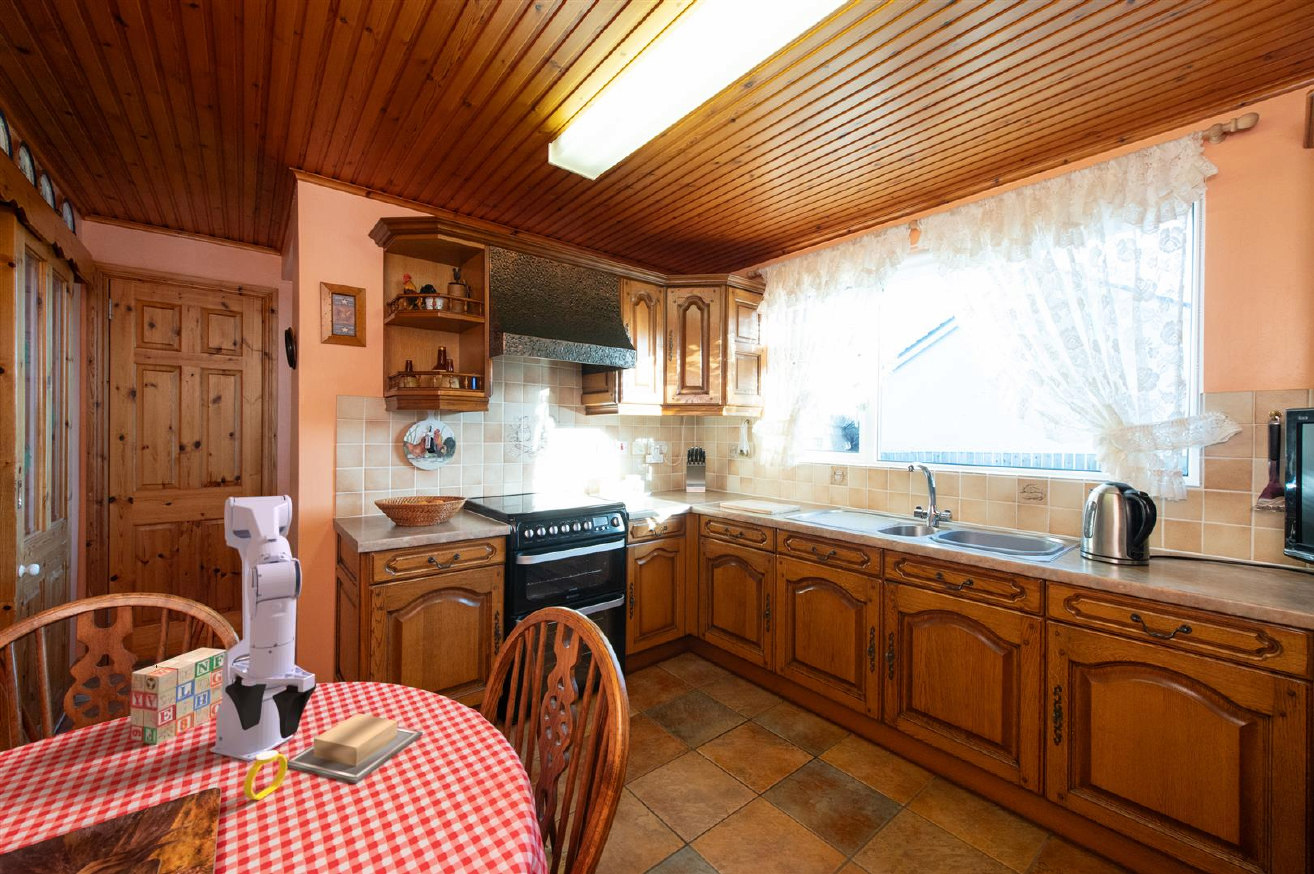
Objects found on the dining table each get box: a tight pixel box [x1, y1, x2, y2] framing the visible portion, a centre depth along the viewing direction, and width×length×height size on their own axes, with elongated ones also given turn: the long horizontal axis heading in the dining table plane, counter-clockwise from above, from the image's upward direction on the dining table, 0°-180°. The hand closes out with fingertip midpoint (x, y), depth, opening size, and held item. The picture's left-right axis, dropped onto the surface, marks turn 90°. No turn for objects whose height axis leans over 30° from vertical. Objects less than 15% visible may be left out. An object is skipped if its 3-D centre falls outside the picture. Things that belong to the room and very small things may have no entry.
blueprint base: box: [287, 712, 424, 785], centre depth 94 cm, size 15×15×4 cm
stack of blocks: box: [129, 647, 249, 746], centre depth 105 cm, size 21×6×12 cm, turn 168°
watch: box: [243, 749, 288, 801], centre depth 82 cm, size 6×3×6 cm, turn 166°
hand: (269, 730), depth 82 cm, fingers open, 7 cm apart
